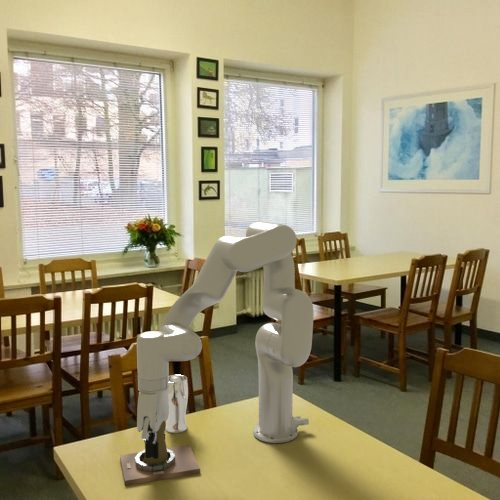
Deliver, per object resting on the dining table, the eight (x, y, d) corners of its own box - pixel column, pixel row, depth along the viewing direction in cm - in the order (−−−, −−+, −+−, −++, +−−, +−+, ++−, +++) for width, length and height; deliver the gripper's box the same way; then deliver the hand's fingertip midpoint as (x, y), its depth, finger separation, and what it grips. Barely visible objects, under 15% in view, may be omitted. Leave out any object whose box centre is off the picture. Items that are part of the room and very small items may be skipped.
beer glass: (193, 426, 162) (192, 376, 160) (180, 435, 155) (179, 384, 154) (172, 421, 164) (171, 373, 163) (159, 431, 158) (158, 380, 156)
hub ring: (171, 450, 144) (170, 445, 144) (177, 468, 135) (177, 462, 135) (133, 456, 141) (133, 450, 141) (137, 475, 132) (137, 469, 132)
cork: (173, 460, 138) (172, 418, 137) (154, 470, 134) (153, 426, 133) (158, 452, 142) (156, 411, 141) (138, 461, 138) (137, 419, 137)
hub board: (189, 449, 147) (189, 444, 147) (200, 473, 135) (200, 467, 135) (120, 459, 142) (120, 454, 142) (125, 485, 130) (124, 480, 130)
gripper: (152, 370, 145) (154, 436, 147) (124, 393, 128) (127, 468, 131) (179, 371, 143) (181, 439, 145) (155, 396, 127) (157, 471, 129)
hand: (155, 452), depth 138 cm, fingers closed on cork, 4 cm apart
